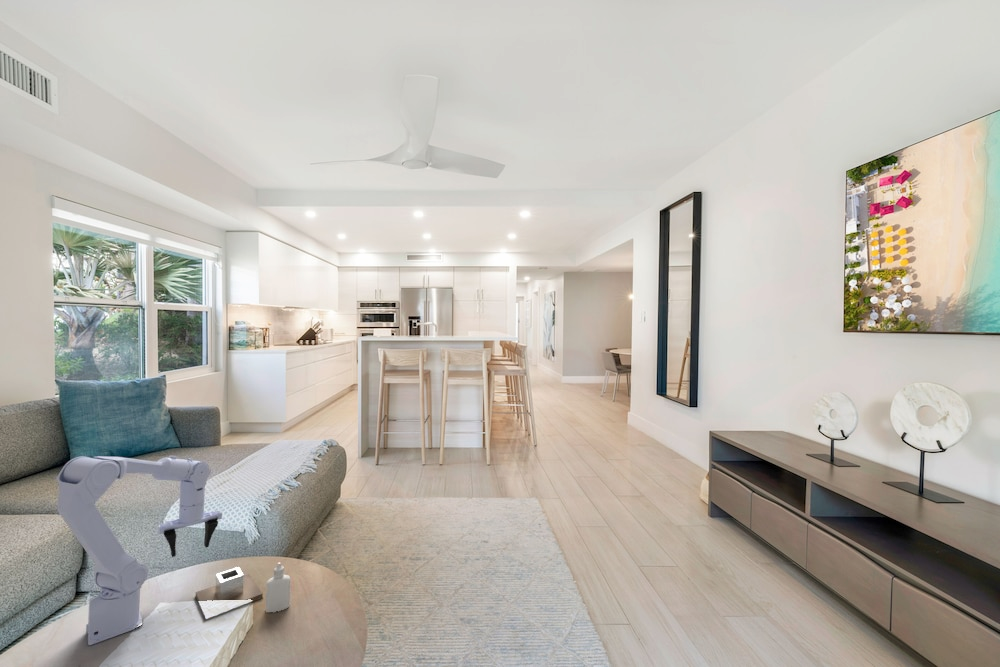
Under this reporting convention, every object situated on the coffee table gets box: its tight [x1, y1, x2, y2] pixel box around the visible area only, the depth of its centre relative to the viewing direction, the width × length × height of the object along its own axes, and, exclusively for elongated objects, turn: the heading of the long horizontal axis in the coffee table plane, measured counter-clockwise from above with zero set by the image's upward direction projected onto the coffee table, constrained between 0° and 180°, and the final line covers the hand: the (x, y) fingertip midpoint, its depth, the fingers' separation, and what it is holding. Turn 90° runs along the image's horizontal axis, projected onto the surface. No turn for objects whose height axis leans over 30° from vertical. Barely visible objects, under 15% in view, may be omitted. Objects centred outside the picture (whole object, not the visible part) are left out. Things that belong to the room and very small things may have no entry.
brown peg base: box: [195, 573, 264, 602], centre depth 113 cm, size 13×13×5 cm
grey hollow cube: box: [215, 566, 245, 600], centre depth 114 cm, size 5×5×5 cm
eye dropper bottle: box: [265, 562, 291, 613], centre depth 109 cm, size 4×6×12 cm
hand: (190, 550), depth 118 cm, fingers open, 7 cm apart
